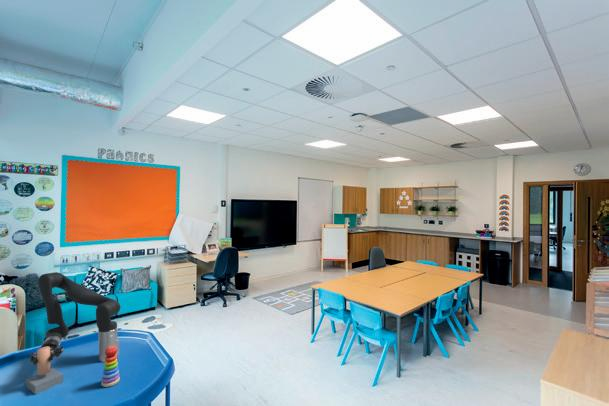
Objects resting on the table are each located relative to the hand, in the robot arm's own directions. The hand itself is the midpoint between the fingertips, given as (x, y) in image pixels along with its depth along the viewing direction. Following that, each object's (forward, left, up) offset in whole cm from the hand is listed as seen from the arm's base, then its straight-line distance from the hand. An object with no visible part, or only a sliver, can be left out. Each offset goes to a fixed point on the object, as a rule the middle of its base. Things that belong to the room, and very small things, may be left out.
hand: (42, 361), depth 149 cm
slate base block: (-1, -2, -13) cm, 14 cm away
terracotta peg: (-1, -2, -7) cm, 7 cm away
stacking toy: (-19, +25, -14) cm, 34 cm away
